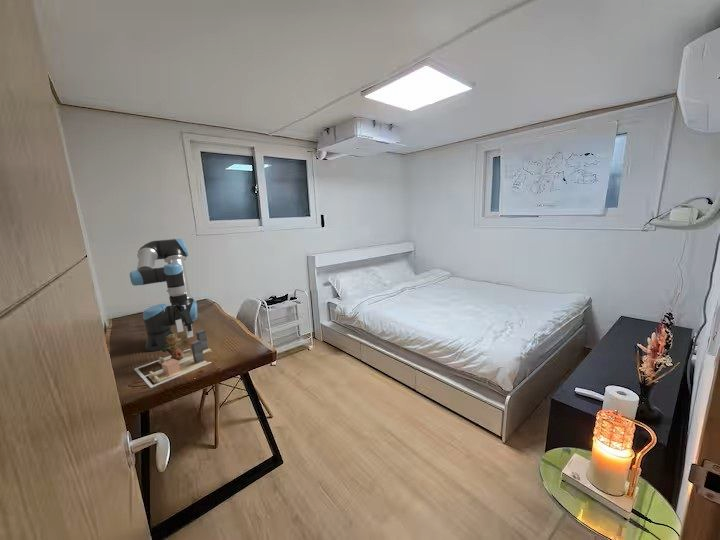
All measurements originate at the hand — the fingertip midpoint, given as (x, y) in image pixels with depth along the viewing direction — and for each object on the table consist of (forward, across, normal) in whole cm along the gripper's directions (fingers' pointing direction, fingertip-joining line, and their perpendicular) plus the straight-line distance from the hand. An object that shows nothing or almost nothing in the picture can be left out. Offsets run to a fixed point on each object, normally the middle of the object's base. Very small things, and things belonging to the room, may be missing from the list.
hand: (185, 334), depth 149 cm
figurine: (+13, 0, -7) cm, 14 cm away
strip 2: (+13, +12, -9) cm, 20 cm away
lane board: (+13, +6, -9) cm, 16 cm away
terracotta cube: (+12, +12, -12) cm, 21 cm away
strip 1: (+12, 0, -2) cm, 13 cm away
